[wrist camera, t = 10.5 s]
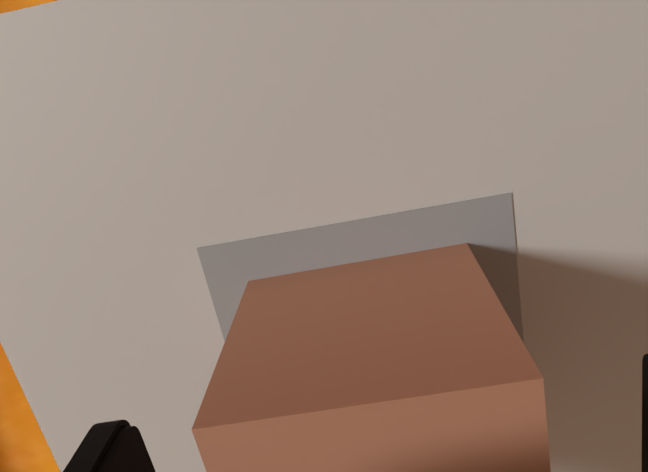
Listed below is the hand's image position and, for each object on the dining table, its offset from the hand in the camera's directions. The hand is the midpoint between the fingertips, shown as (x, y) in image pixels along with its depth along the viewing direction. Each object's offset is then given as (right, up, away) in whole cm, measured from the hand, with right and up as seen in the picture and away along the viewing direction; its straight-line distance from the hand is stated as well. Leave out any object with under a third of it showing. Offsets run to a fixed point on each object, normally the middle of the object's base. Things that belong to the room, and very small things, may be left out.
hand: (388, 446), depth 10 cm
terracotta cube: (0, +1, +3) cm, 3 cm away
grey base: (0, +2, +6) cm, 6 cm away
